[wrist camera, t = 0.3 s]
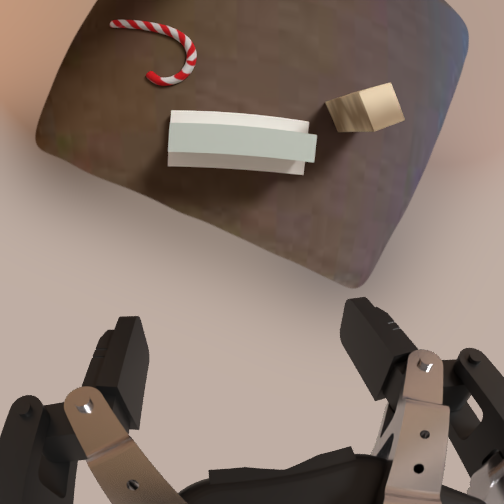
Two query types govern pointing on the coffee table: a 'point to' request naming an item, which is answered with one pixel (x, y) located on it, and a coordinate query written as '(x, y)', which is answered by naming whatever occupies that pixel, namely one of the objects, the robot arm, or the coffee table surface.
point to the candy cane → (169, 32)
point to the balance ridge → (239, 142)
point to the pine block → (366, 110)
